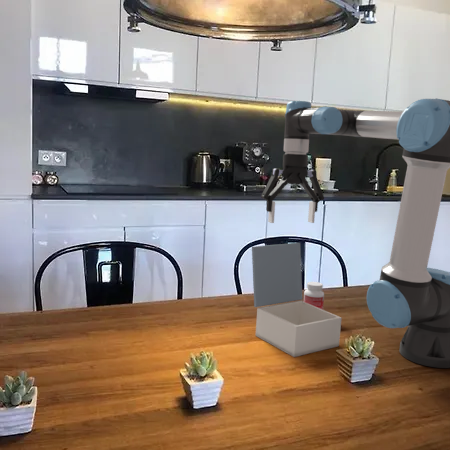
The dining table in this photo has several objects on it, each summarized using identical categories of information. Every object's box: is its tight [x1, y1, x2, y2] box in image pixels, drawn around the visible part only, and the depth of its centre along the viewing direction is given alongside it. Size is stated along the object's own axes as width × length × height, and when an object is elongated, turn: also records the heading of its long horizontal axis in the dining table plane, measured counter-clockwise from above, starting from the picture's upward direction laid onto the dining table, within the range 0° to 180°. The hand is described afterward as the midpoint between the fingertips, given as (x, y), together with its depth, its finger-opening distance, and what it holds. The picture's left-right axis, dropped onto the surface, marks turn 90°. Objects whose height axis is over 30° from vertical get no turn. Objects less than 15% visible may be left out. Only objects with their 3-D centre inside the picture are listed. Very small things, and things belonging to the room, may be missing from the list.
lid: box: [251, 242, 303, 308], centre depth 151 cm, size 16×17×2 cm
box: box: [255, 300, 342, 358], centre depth 144 cm, size 16×16×8 cm
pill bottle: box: [302, 281, 325, 310], centre depth 163 cm, size 6×6×11 cm
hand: (291, 222), depth 165 cm, fingers open, 13 cm apart
